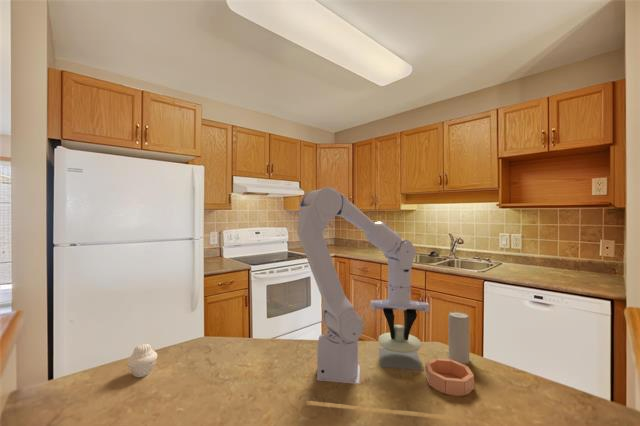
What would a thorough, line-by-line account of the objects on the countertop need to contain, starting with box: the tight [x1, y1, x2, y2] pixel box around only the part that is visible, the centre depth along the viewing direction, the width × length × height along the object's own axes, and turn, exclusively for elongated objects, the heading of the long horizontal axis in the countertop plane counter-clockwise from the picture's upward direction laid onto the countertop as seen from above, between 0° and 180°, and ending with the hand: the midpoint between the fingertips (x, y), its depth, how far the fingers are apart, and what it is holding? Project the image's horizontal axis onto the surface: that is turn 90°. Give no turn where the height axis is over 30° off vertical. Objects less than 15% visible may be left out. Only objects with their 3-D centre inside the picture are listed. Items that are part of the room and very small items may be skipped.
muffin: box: [126, 343, 158, 378], centre depth 68 cm, size 6×6×7 cm
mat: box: [378, 347, 424, 371], centre depth 74 cm, size 10×10×1 cm
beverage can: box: [447, 311, 470, 365], centre depth 74 cm, size 5×5×12 cm
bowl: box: [425, 357, 475, 397], centre depth 63 cm, size 9×9×4 cm
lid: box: [378, 324, 421, 353], centre depth 74 cm, size 10×10×4 cm
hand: (399, 338), depth 74 cm, fingers closed on lid, 3 cm apart
